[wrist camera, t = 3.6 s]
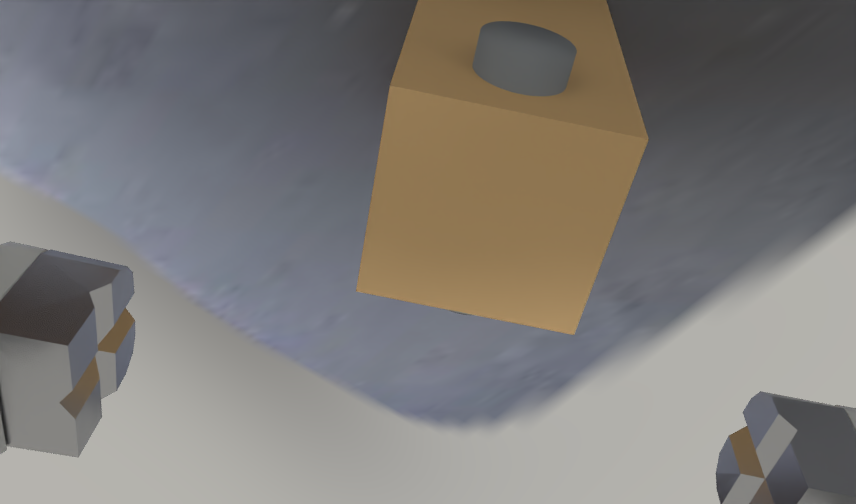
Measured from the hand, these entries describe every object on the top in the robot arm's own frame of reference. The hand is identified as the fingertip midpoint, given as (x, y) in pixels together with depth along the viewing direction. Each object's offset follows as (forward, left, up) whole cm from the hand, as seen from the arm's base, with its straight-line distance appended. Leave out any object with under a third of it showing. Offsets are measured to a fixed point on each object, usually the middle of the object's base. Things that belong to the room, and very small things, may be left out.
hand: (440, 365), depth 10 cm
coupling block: (-1, 0, -11) cm, 10 cm away
